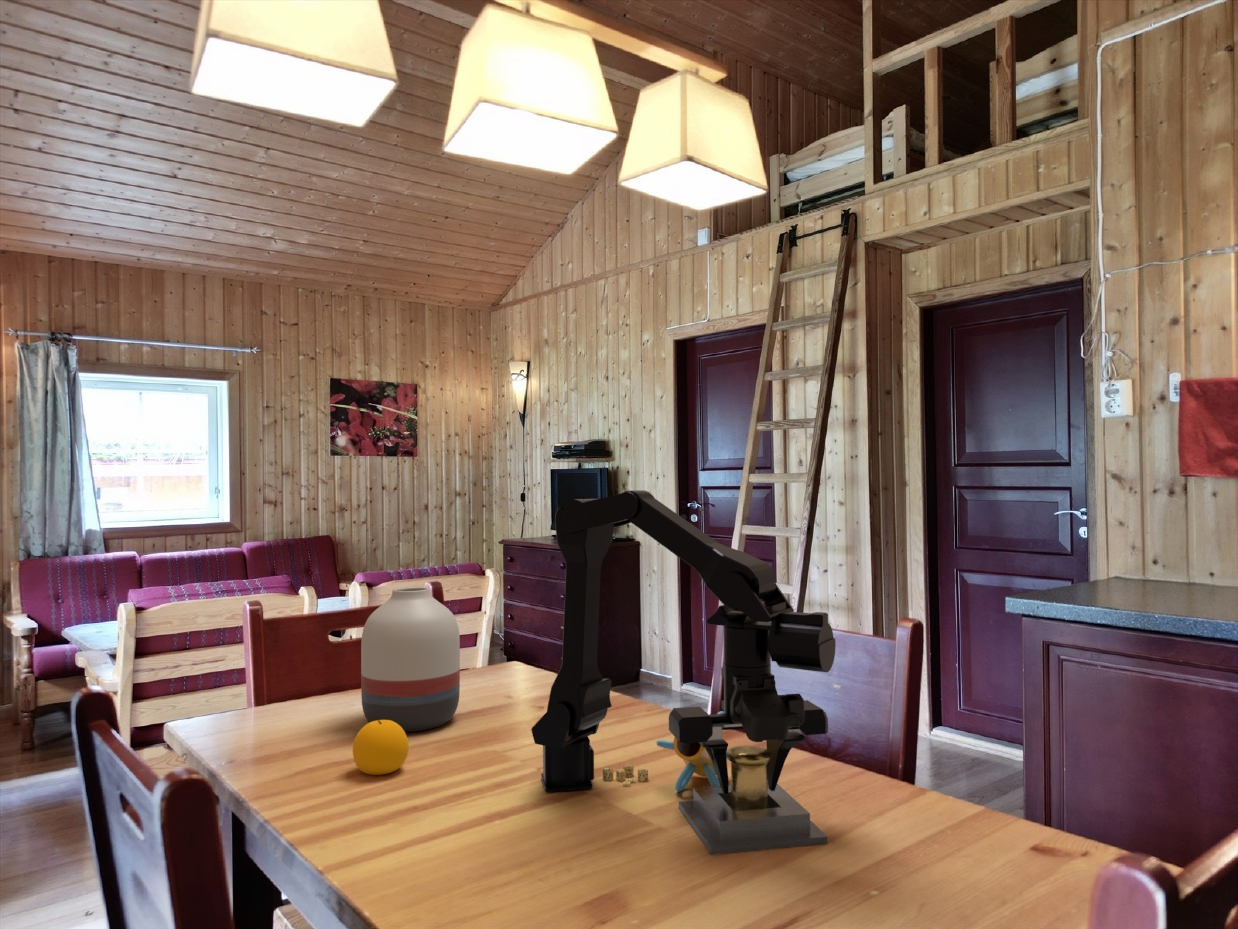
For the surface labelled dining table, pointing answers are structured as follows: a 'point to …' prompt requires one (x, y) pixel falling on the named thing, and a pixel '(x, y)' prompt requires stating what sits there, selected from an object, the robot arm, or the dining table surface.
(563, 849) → the dining table surface
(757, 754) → the bushing
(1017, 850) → the dining table surface
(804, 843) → the plate
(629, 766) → the mottled tan cylinder cluster
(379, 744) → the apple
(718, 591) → the robot arm
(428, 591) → the vase
